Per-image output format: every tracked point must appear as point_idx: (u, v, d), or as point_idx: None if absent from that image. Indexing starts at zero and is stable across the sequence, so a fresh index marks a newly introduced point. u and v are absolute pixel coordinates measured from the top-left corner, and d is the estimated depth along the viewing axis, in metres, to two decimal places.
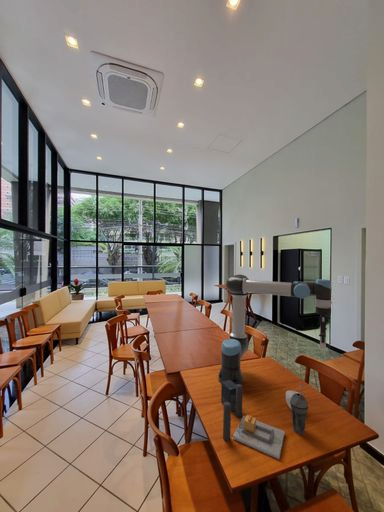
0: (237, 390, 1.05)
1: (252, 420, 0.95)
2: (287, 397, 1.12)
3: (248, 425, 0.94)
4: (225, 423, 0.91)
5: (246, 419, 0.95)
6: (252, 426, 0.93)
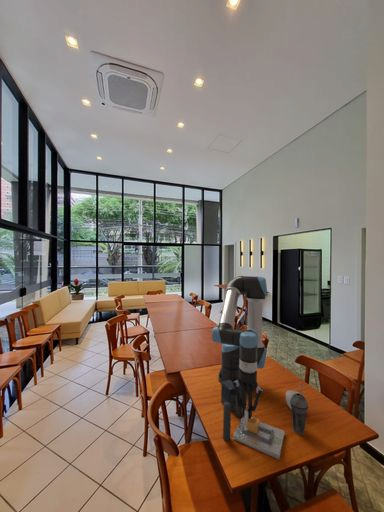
0: None
1: (255, 421, 0.94)
2: (287, 397, 1.12)
3: (251, 426, 0.93)
4: (225, 423, 0.91)
5: (249, 420, 0.95)
6: (255, 427, 0.92)
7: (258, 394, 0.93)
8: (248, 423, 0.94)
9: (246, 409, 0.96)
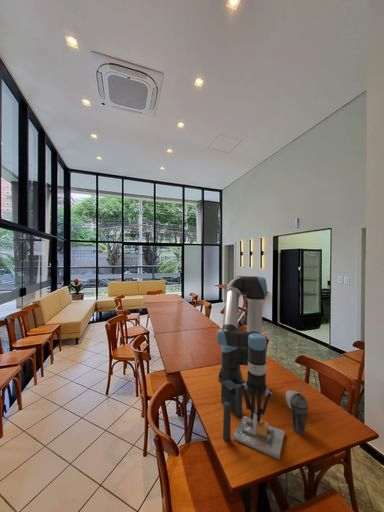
0: (237, 390, 1.05)
1: (264, 425, 0.92)
2: (287, 397, 1.12)
3: (260, 429, 0.91)
4: (225, 423, 0.91)
5: (258, 424, 0.93)
6: (265, 431, 0.90)
7: (267, 397, 0.91)
8: (257, 426, 0.92)
9: (255, 412, 0.94)
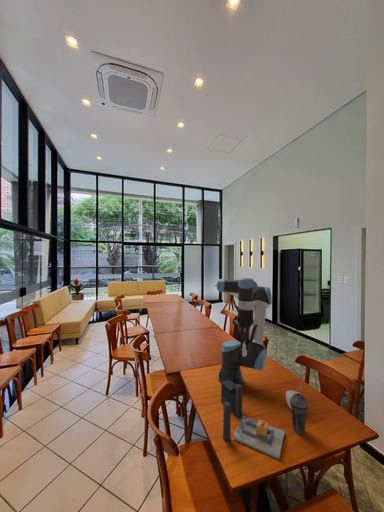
0: (237, 390, 1.05)
1: (264, 425, 0.92)
2: (287, 397, 1.12)
3: (260, 429, 0.91)
4: (225, 423, 0.91)
5: (258, 424, 0.93)
6: (265, 431, 0.90)
7: (254, 328, 1.08)
8: (257, 427, 0.92)
9: (244, 342, 1.11)
